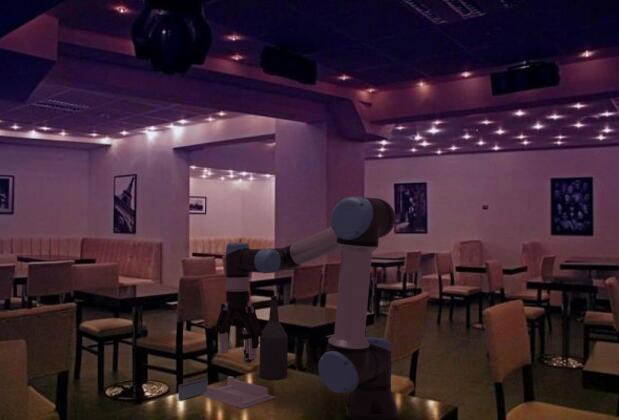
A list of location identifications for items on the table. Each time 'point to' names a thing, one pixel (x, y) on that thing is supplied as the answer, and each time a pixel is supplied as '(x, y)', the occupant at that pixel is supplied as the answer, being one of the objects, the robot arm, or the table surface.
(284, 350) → the bottle
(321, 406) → the table surface
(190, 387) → the dark slender plank
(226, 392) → the tray
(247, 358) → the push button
